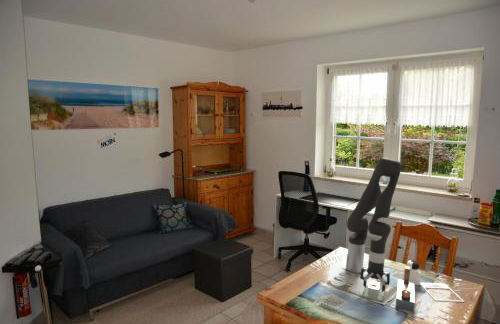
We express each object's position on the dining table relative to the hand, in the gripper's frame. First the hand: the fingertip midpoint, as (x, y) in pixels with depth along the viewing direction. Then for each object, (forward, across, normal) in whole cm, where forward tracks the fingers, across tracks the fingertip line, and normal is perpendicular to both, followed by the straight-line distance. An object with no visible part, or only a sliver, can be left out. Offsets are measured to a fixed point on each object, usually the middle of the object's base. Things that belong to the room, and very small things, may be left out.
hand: (373, 289), depth 179 cm
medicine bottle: (+3, +18, +24) cm, 30 cm away
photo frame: (+3, +32, +19) cm, 37 cm away
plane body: (+3, +15, +2) cm, 15 cm away
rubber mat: (+3, 0, 0) cm, 3 cm away
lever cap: (+2, 0, 0) cm, 2 cm away
